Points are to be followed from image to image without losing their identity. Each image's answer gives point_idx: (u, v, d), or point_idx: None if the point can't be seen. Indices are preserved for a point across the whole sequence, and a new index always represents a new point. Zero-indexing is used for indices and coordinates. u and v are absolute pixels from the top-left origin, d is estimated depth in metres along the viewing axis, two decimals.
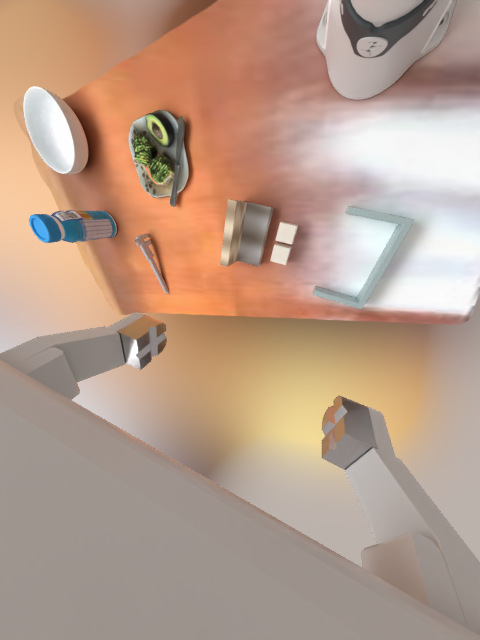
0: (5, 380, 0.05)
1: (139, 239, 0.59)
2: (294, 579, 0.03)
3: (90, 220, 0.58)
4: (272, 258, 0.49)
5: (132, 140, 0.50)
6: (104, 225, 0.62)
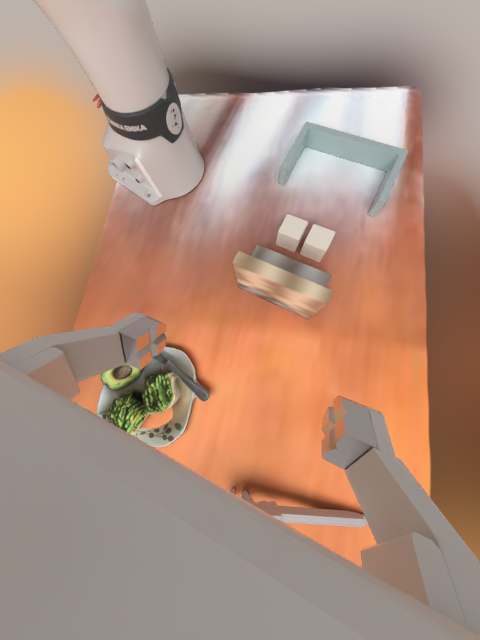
0: (5, 380, 0.05)
1: None
2: (294, 579, 0.03)
3: None
4: (323, 247, 0.33)
5: None
6: None
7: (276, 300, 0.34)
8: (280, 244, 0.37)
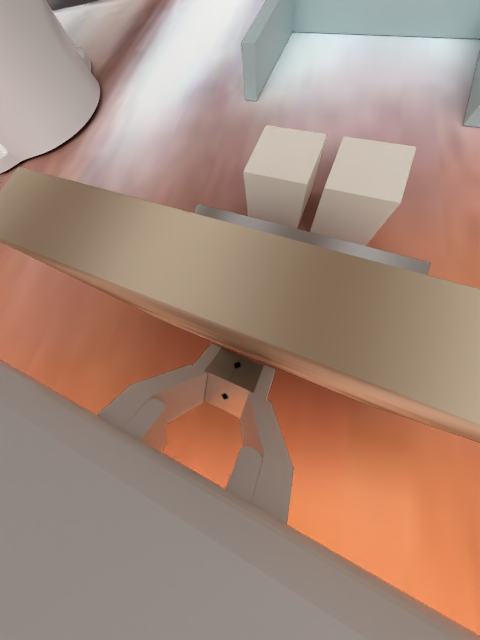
0: (5, 380, 0.05)
1: None
2: (294, 579, 0.03)
3: None
4: (387, 194, 0.10)
5: None
6: None
7: (262, 360, 0.11)
8: (258, 214, 0.15)
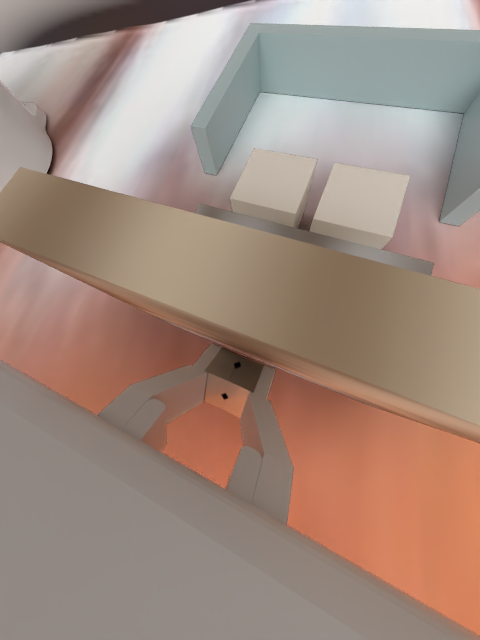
0: (5, 380, 0.05)
1: None
2: (294, 579, 0.03)
3: None
4: (379, 227, 0.10)
5: None
6: None
7: (264, 361, 0.10)
8: None
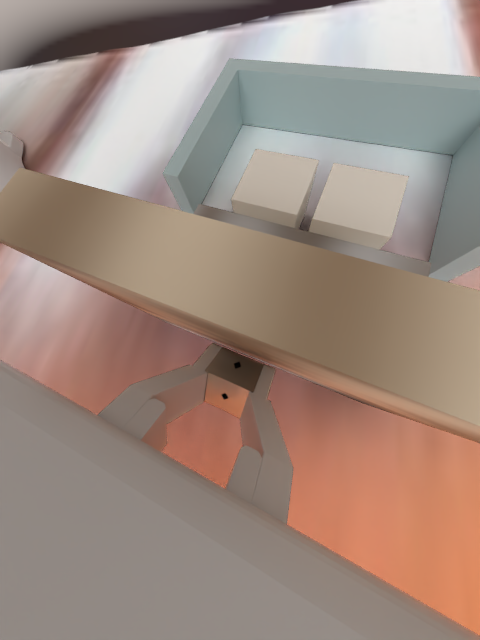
0: (5, 380, 0.05)
1: None
2: (294, 579, 0.03)
3: None
4: (378, 227, 0.10)
5: None
6: None
7: (263, 360, 0.11)
8: None
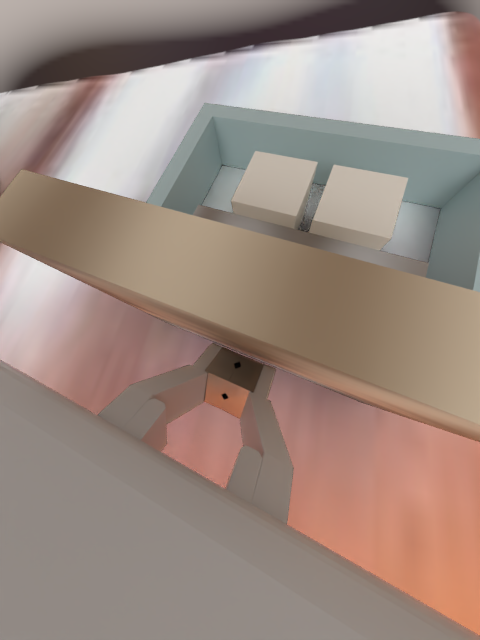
0: (5, 380, 0.05)
1: None
2: (294, 579, 0.03)
3: None
4: (377, 228, 0.10)
5: None
6: None
7: (262, 360, 0.11)
8: None
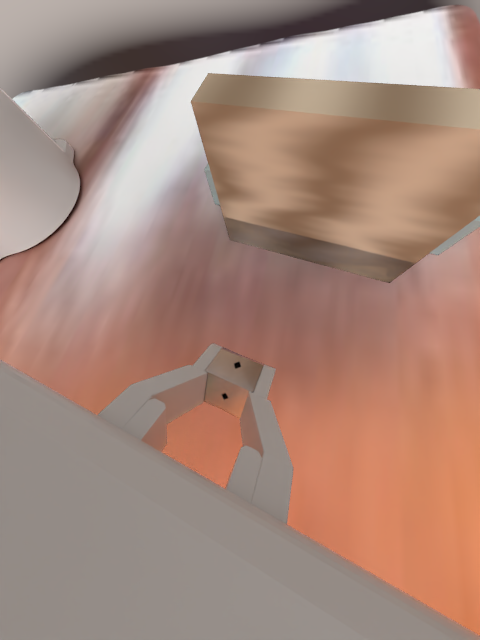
0: (5, 380, 0.05)
1: None
2: (294, 579, 0.03)
3: None
4: None
5: None
6: None
7: (316, 244, 0.15)
8: None
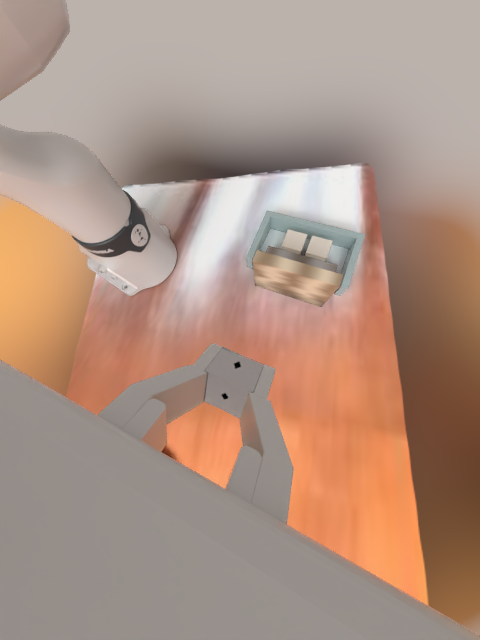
0: (5, 380, 0.05)
1: None
2: (294, 579, 0.03)
3: None
4: (323, 255, 0.37)
5: None
6: None
7: (291, 292, 0.38)
8: None
